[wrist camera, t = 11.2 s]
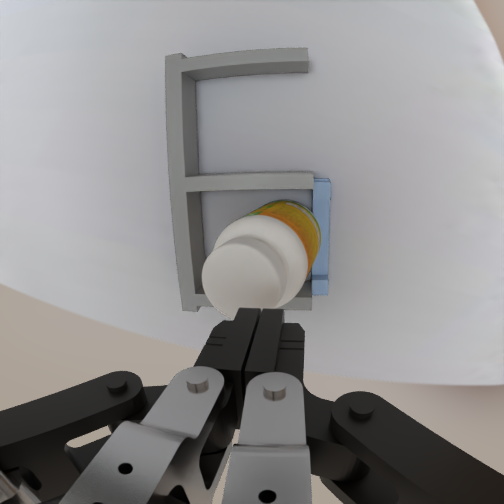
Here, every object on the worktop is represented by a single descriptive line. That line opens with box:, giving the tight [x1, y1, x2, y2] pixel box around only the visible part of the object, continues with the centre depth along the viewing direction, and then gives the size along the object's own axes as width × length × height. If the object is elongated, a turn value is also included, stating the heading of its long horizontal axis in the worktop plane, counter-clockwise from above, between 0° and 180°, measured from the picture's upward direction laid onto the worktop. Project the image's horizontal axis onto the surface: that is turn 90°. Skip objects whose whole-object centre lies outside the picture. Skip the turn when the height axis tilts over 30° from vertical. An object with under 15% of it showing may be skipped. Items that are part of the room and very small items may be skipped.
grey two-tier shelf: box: [165, 48, 314, 312], centre depth 22 cm, size 19×10×3 cm, turn 2°
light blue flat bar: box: [311, 178, 331, 295], centre depth 23 cm, size 8×1×2 cm, turn 2°
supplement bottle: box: [202, 200, 322, 319], centre depth 19 cm, size 5×5×10 cm
